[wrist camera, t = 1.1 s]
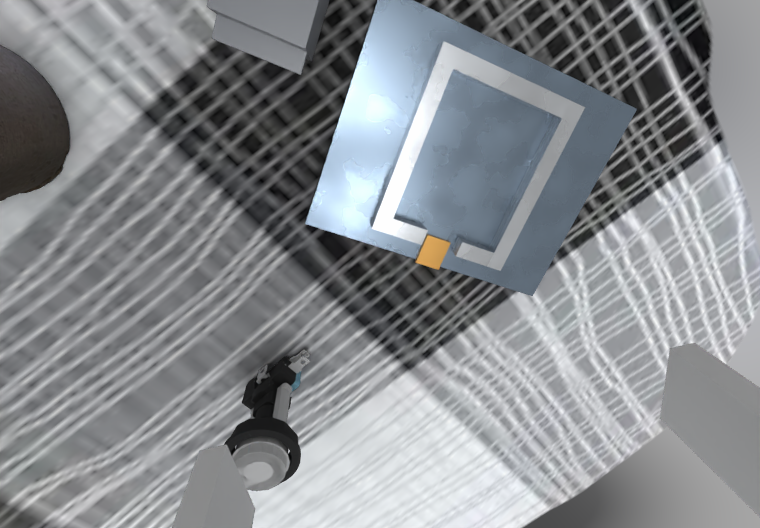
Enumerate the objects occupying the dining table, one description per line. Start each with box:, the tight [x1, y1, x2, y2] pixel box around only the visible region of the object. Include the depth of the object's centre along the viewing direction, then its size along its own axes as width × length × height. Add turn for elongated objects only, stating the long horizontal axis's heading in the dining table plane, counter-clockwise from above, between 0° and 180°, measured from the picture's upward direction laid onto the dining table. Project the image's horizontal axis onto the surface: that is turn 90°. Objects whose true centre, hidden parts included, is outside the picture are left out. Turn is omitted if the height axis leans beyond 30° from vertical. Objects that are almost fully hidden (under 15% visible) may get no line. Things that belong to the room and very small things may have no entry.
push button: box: [224, 350, 310, 491], centre depth 32 cm, size 7×5×10 cm
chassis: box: [305, 0, 637, 296], centre depth 30 cm, size 20×16×2 cm
